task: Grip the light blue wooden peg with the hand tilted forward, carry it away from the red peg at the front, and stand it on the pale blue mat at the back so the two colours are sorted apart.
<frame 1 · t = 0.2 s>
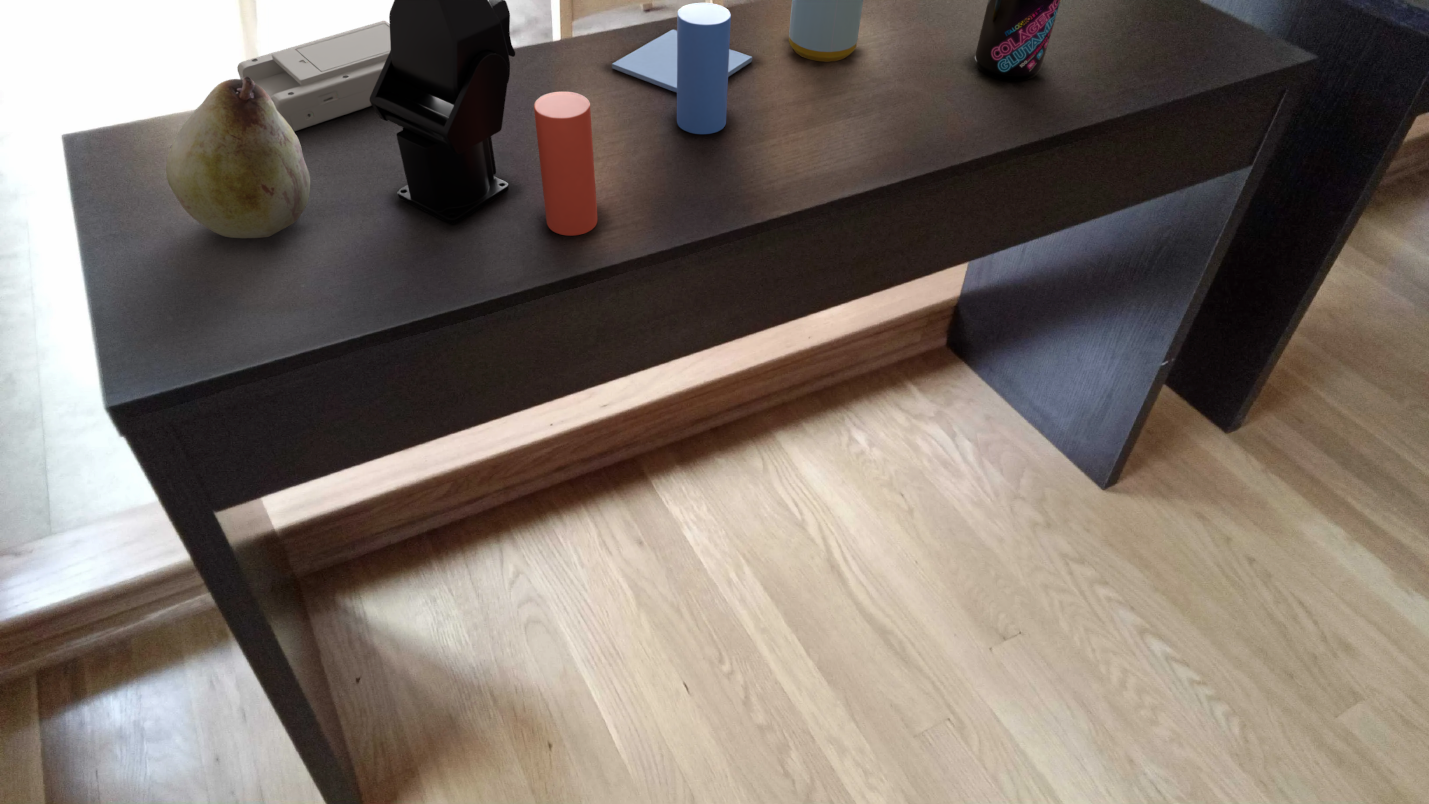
supplement container: (1005, 70, 96), on the table
blue peg: (701, 122, 87), on the table
bottle: (821, 50, 98), on the table
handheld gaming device: (411, 40, 90), point 3 cm above the table
blue mat: (682, 64, 95), on the table
fruit: (258, 225, 74), on the table
red peg: (572, 221, 75), on the table
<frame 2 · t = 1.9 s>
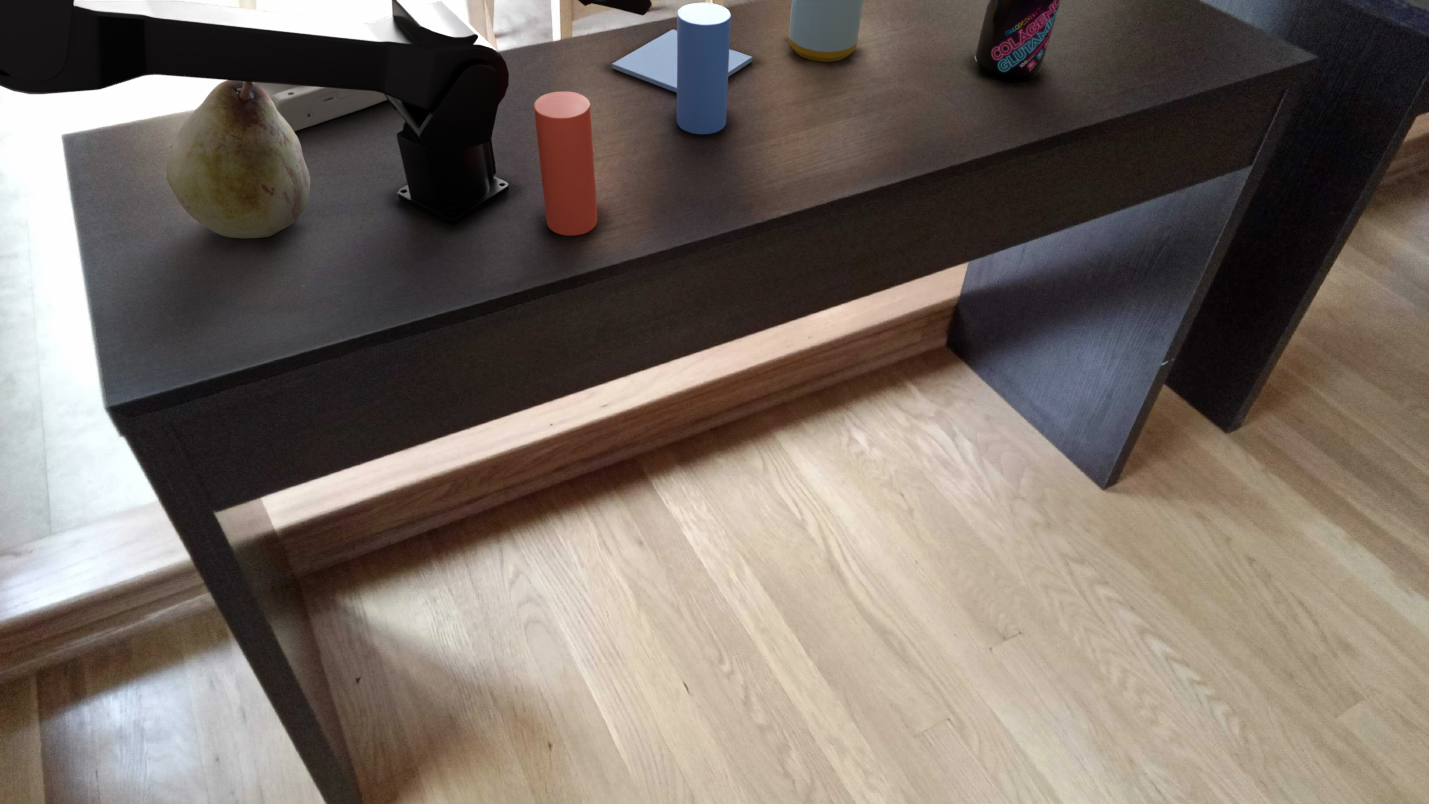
nothing on the table moved.
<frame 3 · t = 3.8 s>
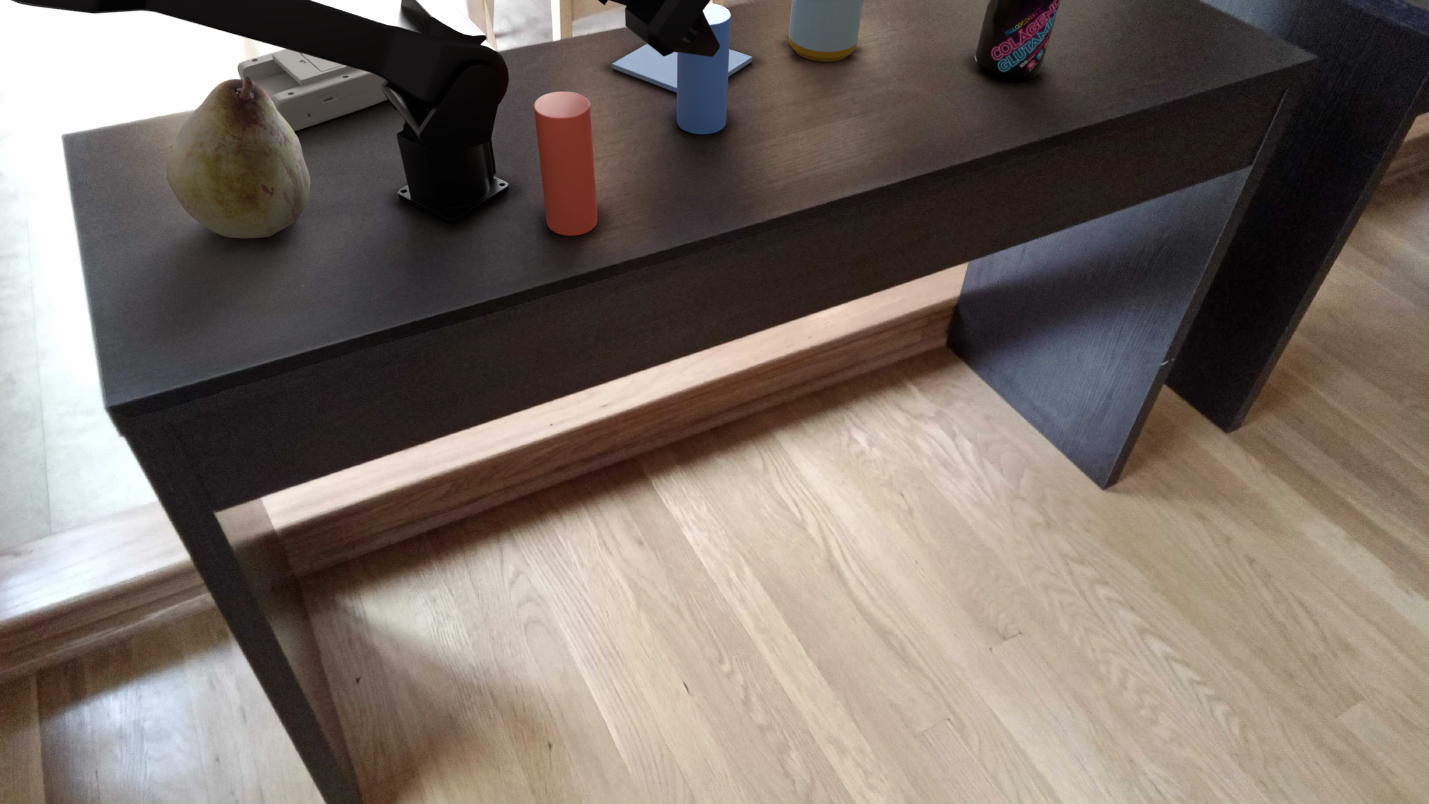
hand: (685, 29, 80), 9 cm above the table, tool tilted 45°, fingers open, 9 cm apart
nothing on the table moved.
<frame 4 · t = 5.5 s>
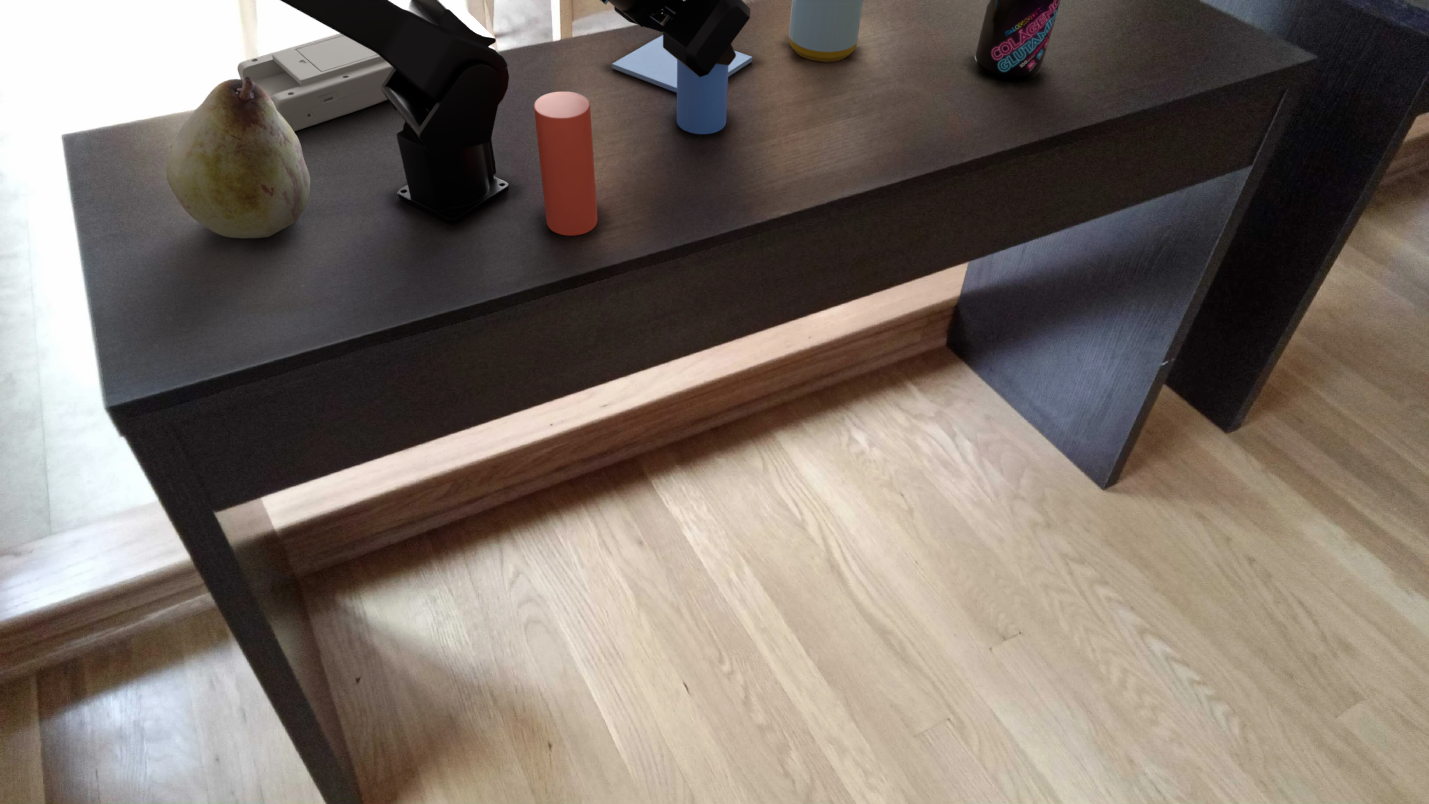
hand: (716, 49, 83), 7 cm above the table, tool tilted 45°, fingers closed on blue peg, 4 cm apart
blue peg: (701, 122, 87), on the table, touching gripper
everything else where it was.
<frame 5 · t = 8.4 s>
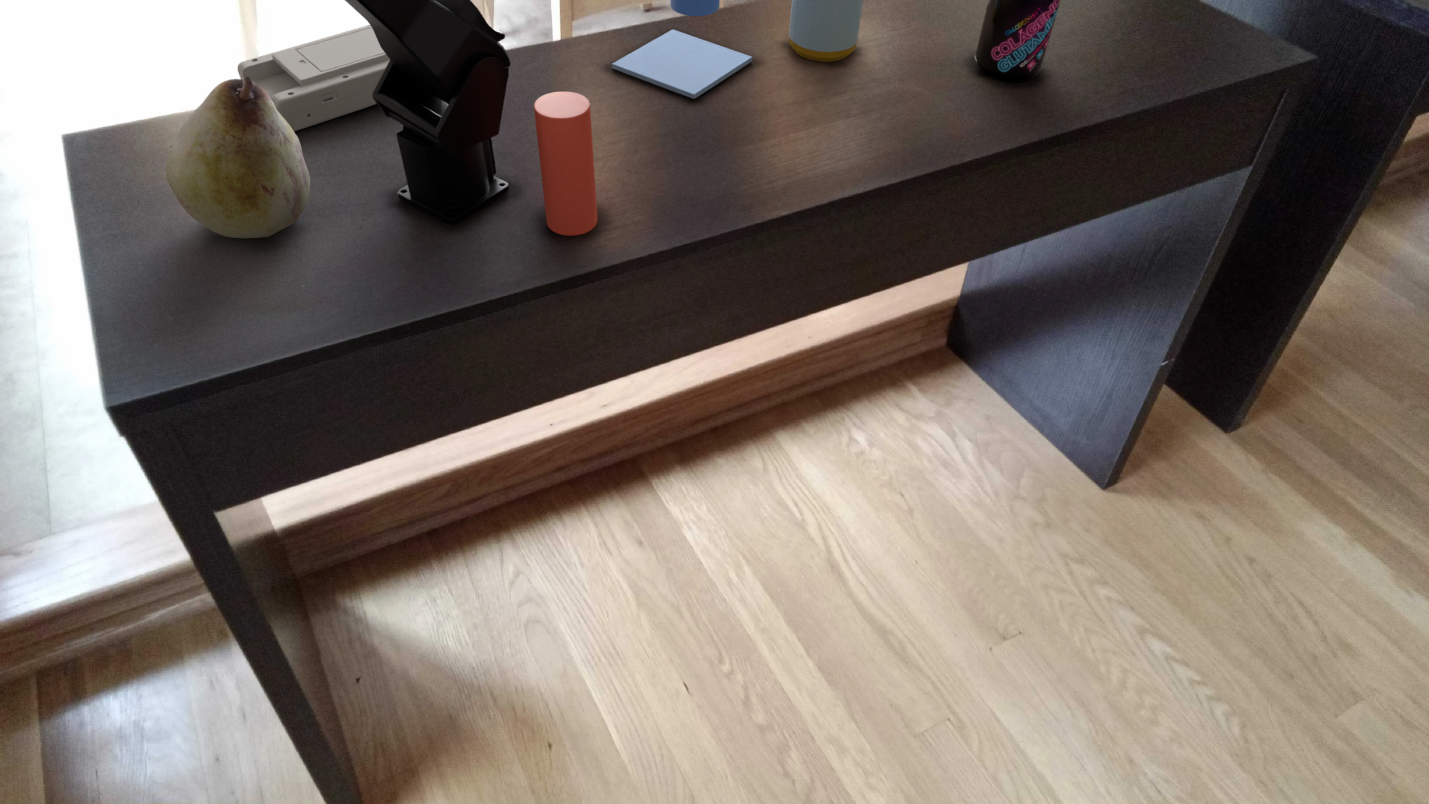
blue peg: (694, 6, 87), point 7 cm above the table, touching gripper
everything else where it was.
when the fingers open (7 cm above the table, at t = 11.3 s): blue peg stays where it is, resting on blue mat.
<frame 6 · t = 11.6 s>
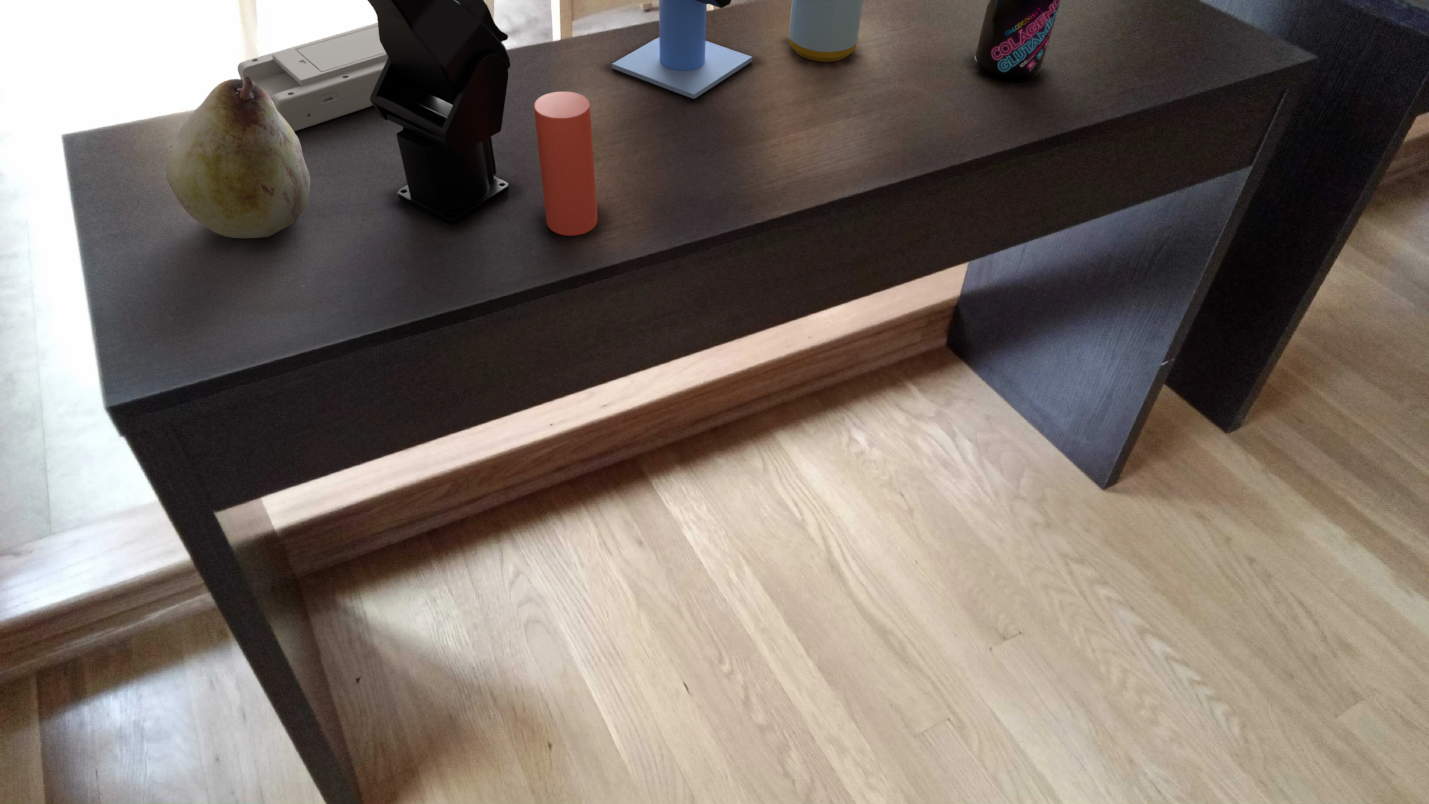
blue peg: (682, 60, 94), point 1 cm above the table, touching blue mat
everything else where it was.
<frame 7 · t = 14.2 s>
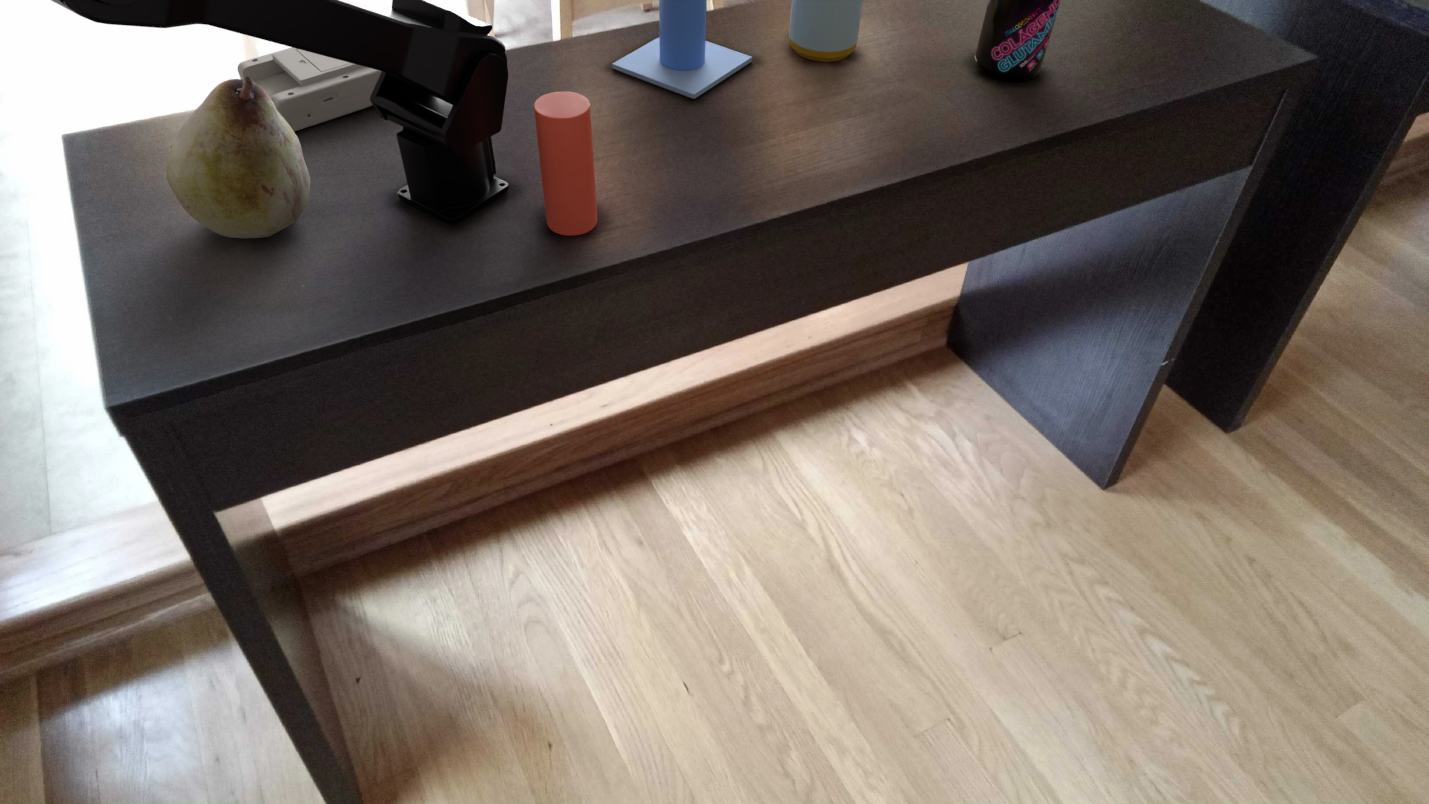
nothing on the table moved.
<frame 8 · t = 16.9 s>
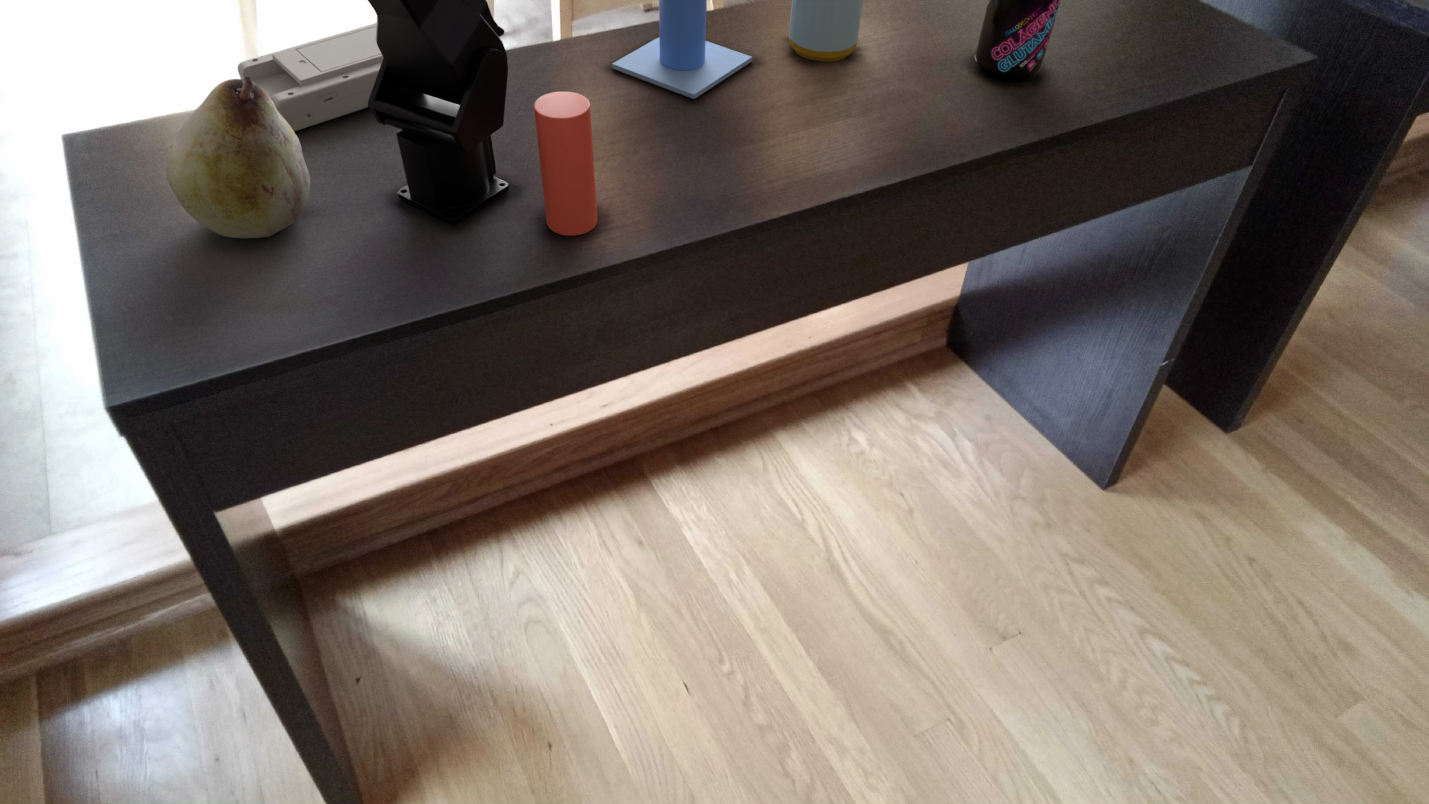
nothing on the table moved.
at the end: blue peg inside the target area on the blue mat (0.1 cm from its centre), point 0.5 cm above the blue mat's base; blue peg tilted 0°; red peg moved 0.0 cm from its start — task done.
